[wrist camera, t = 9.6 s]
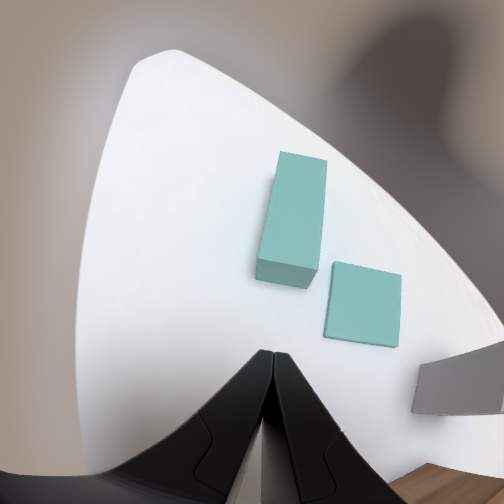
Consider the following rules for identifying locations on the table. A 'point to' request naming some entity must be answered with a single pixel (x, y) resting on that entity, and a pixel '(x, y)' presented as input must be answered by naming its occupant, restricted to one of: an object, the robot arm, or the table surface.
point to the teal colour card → (364, 305)
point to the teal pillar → (293, 222)
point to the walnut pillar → (448, 487)
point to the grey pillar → (463, 384)
